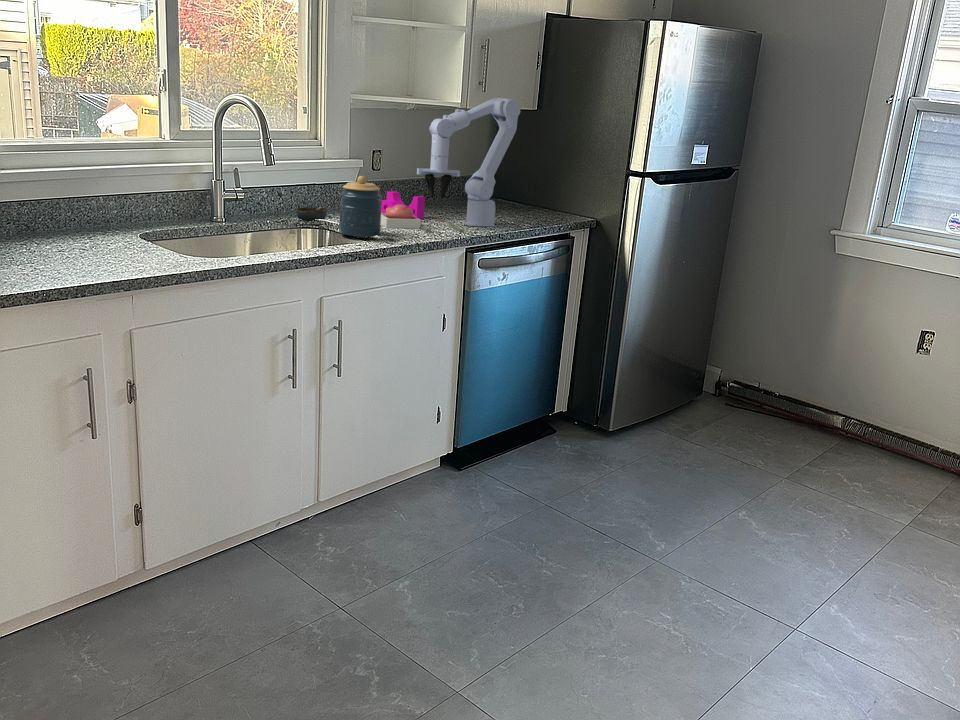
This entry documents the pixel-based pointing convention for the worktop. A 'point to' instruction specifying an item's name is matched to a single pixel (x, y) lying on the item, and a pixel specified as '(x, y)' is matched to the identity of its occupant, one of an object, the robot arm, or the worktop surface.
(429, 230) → the game lane
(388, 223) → the white square frame
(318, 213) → the soup bowl
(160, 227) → the worktop surface
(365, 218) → the canister
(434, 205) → the worktop surface
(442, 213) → the worktop surface
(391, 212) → the dome
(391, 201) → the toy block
